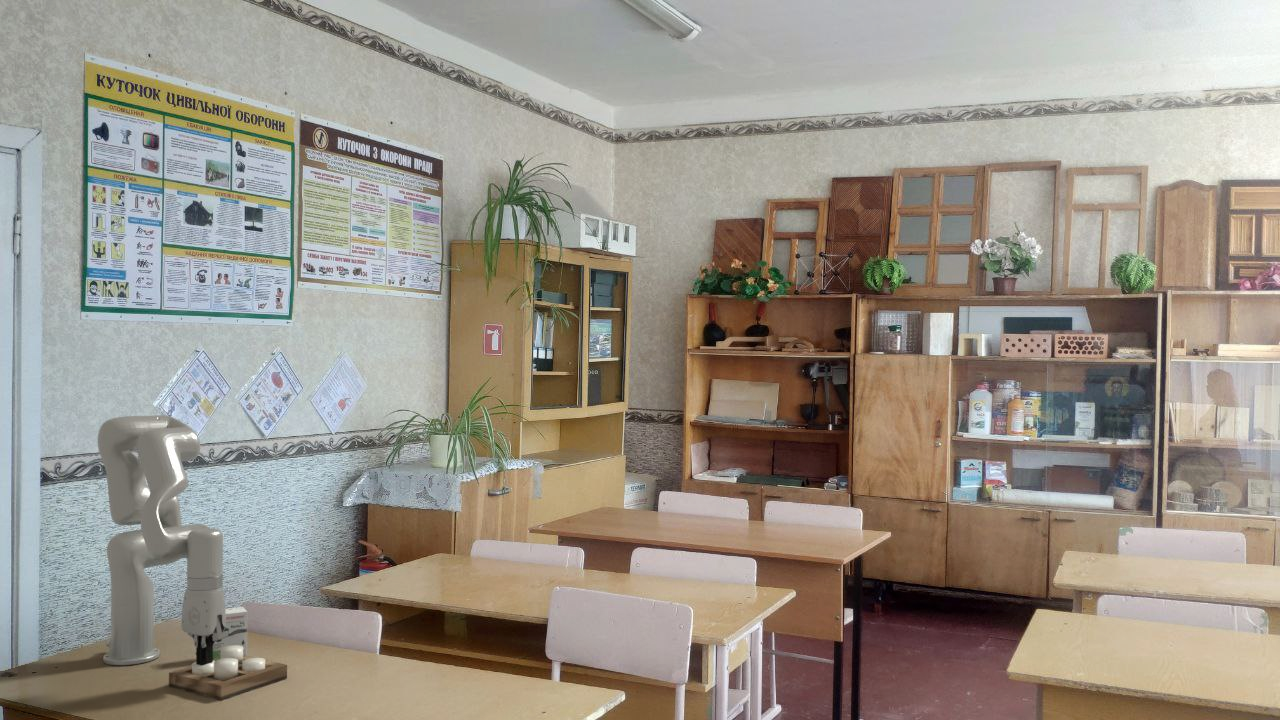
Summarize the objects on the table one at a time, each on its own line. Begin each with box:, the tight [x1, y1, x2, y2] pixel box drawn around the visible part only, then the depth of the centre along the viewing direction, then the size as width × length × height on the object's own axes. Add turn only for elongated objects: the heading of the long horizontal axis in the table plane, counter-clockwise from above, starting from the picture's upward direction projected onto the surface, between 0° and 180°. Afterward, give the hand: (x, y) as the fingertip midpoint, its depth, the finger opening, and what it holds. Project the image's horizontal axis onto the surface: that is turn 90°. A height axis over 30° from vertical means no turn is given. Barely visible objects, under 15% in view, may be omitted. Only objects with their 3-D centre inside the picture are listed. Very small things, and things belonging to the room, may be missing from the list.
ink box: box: [213, 606, 248, 660], centre depth 254 cm, size 9×5×12 cm, turn 123°
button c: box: [214, 658, 238, 680], centre depth 229 cm, size 5×5×4 cm
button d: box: [242, 657, 266, 673], centre depth 236 cm, size 5×5×4 cm
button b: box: [220, 645, 243, 665], centre depth 240 cm, size 5×5×4 cm
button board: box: [168, 655, 288, 701], centre depth 234 cm, size 18×18×3 cm
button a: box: [191, 661, 215, 676], centre depth 233 cm, size 5×5×4 cm
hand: (204, 663), depth 233 cm, fingers closed
